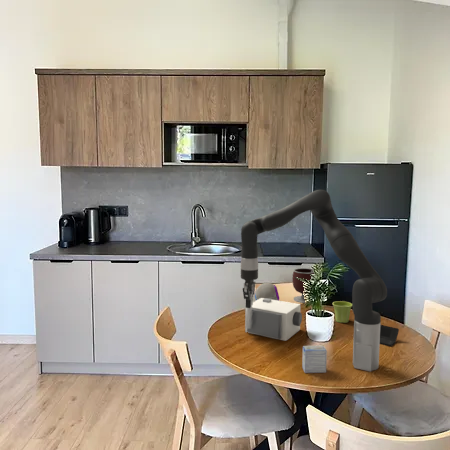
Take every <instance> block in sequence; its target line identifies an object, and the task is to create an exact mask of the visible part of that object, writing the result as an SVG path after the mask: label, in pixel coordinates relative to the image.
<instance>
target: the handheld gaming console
mask: <svg viewBox="0 0 450 450" xmlns="http://www.w3.org/2000/svg"><path fill="white" fill-rule="evenodd" d="M399 331H400V329H399V328H398V327H394V326H393V327H392V326H387V325H383V324H380V345H383V346H388V347H391V348H392V347H393V346H394V345H395V344H396V343H397V338H398V335H399Z"/></svg>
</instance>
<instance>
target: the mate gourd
mask: <svg viewBox="0 0 450 450" xmlns="http://www.w3.org/2000/svg"><path fill="white" fill-rule="evenodd" d="M313 269H314V268H306V267H304V268H303V267H300V268H295V269H293V272H292V286H293V289H294V290H295V291H296V292H297V293H300V294H301V295H299V296H298V295H297V296H294V297H293V301H294V302H296V303H299V304H300V303H301V304H306V303H305V299H304V295H303V291H304V287H303V283H304V282H302V281H300V280H298V279H296V278H295V277H298V278H302V279H303V278H304V279H307V280H310V279H311V276H310V274H314V272H313ZM304 284H305V283H304Z"/></svg>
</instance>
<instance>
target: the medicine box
mask: <svg viewBox="0 0 450 450" xmlns="http://www.w3.org/2000/svg"><path fill="white" fill-rule="evenodd" d="M327 353H328V351H327V349H326V347H325V346H324V345H303V346H302V362H301V363H302V364H301V365H302V366H301V367H302V370H303V372H304V373H305V374H313V373H314V374H316V373H317V374H318V373H327V357H328V355H327Z"/></svg>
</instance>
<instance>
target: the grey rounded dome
mask: <svg viewBox="0 0 450 450" xmlns="http://www.w3.org/2000/svg"><path fill="white" fill-rule="evenodd" d="M254 298H255V301H256V300H258V299H260V298H268V299H272V300H278V301H280V295H279V290H278V287H277V286H276V284H274V283H271V282H264V283H261V284H260V285H258V286H257V288H255V291H254Z"/></svg>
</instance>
